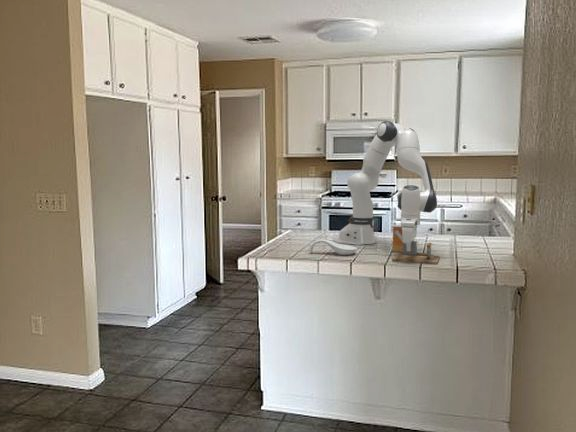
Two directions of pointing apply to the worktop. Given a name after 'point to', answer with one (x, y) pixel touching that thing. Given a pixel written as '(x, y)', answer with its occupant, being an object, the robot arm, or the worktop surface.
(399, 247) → the small box
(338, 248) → the spoon rest
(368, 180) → the robot arm
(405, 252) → the grey block
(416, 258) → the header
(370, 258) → the worktop surface
